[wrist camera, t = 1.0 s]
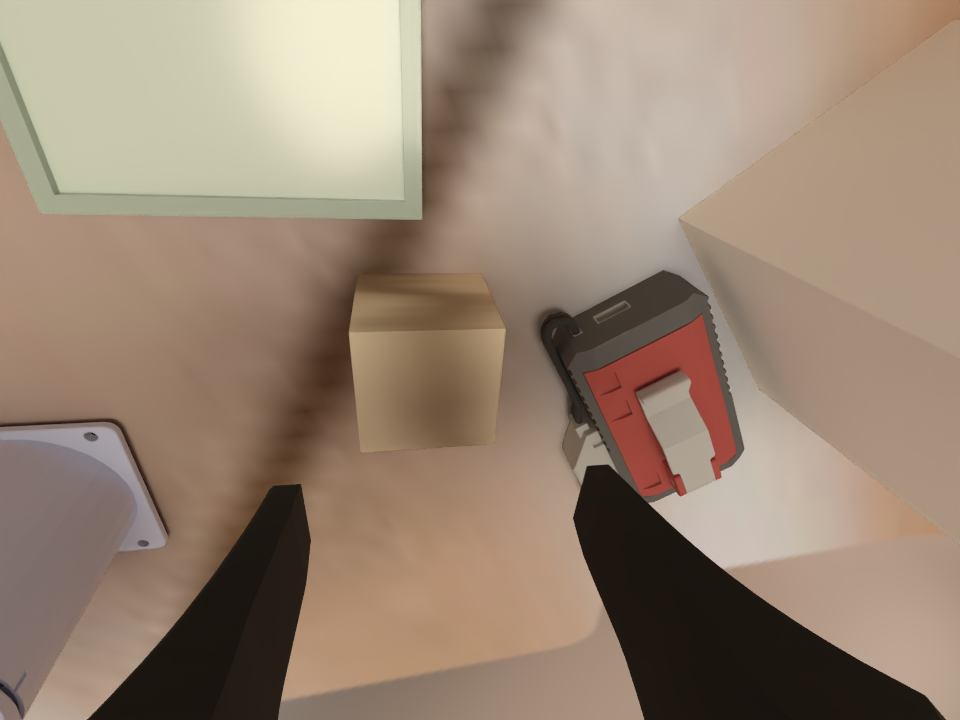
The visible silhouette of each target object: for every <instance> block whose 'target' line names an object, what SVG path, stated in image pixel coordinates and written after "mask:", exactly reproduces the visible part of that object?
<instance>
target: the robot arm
mask: <svg viewBox="0 0 960 720" xmlns="http://www.w3.org/2000/svg"><path fill="white" fill-rule="evenodd" d="M90 432H92V433H94V434H96V435H93V434H91V433H90ZM573 520H574V523H575V527H576V531H577V535H578V538H579V542H580V545H581V549H582V552H583V555H584V558H585V560H586V563H587V565H588V568H589V570H590V573H591V575H592V578H593V580H594V583H595V585H596V587H597V590H598V592H599V595H600V597H601V599H602V602H603V604H604V606H605V609H606V611H607V614H608V616H609V618H610V621H611V623H612V625H613V628H614V630H615V633H616V635H617V637H618V640H619V642H620V645H621V648H622V651H623V653H624V656H625V659H626V661H627V664H628V668H629V671H630V674H631V677H632V681H633V684H634V687H635V690H636V693H637V696H638V700H639V702H640V706H641V710H642V713H643V716H644V720H946V719H945V718H944V717H943V716H942V715H941V713H940V712H939V711H938V710H937V709H936V708H935V706H934V705H933V704H932V703H931V702H930V701H929V699H928V698H927V697H926V696H925V695H923V694H921V693H919V692H918V691H916V690H914V689H912V688H910V687H908V686H906V685H904V684H903V683H901V682H899V681H897V680H895V679H893V678H891V677H889V676H887V675H886V674H884V673H882V672H880V671H878V670H876V669H875V668H873V667H871V666H869V665H867V664H865V663H863V662H861V661H860V660H858V659H856V658H855V657H853V656H851V655H850V654H848V653H846V652H845V651H843V650H841V649H839V648H838V647H836V646H834V645H832V644H831V643H829V642H827V641H826V640H824V639H823V638H821V637H819V636H818V635H816V634H815V633H813V632H811V631H810V630H808V629H807V628H805V627H803V626H802V625H800V624H799V623H797V622H796V621H794V620H793V619H791V618H790V617H788V616H787V615H785V614H784V613H782V612H781V611H779V610H778V609H776V608H775V607H773V606H772V605H770V604H769V603H767V602H766V601H765V600H763V599H762V598H760V597H759V596H758V595H756V594H755V593H753V592H752V591H751V590H749V589H748V588H747V587H745V586H744V585H743V584H741V583H740V582H739V581H737V580H736V579H734V578H733V577H732V576H731V575H729V574H728V573H727V572H725V571H724V570H723V569H722V568H720V567H719V566H718V565H717V564H715V563H714V562H713V561H712V560H711V559H709V558H708V557H707V556H706V555H705V554H703V553H702V552H701V551H700V550H699V549H698V548H696V547H695V546H694V545H693V544H692V543H691V542H689V541H688V540H687V539H686V538H685V537H684V536H683V535H681V534H680V533H679V532H678V531H677V530H676V529H675V528H674V527H673V526H672V525H670V524H669V523H668V522H667V521H666V520H665V519H664V518H663V517H662V516H661V515H660V514H659V513H658V512H657V511H656V510H655V509H654V508H652V507H651V506H650V505H649V504H648V503H647V502H646V501H645V500H644V499H643V498H642V497H641V496H640V495H639V494H638V493H637V492H636V491H635V490H634V489H633V488H632V487H631V486H630V485H629V484H628V483H627V482H626V481H625V480H624V479H623V478H622V477H621V476H620V475H619V474H618V473H617V472H616V471H615V470H614V469H613V468H612V467H611V466H610V465H609V464H606V465H591V466H587V467H586V471H585V475H584V479H583V482H582V486H581V490H580V494H579V498H578V501H577V505H576V509H575V513H574V517H573ZM167 539H168V535H167V533H166V531H165V528H164V526H163V524H162V522H161V519H160V517H159V515H158V513H157V510H156V508H155V506H154V503H153V501H152V499H151V497H150V494H149V492H148V490H147V488H146V485H145V483H144V481H143V479H142V476H141V474H140V472H139V470H138V467H137V465H136V463H135V461H134V458H133V456H132V454H131V452H130V449H129V447H128V445H127V443H126V440H125V438H124V436H123V434H122V431H121V430H120V428H119V427H118V426H117V425H115V424H113V423H110V422H91V423H71V424H52V425H32V426H12V427H0V720H23V719H24V717H25V715H26V713H27V712H28V710H29V708H30V706H31V705H32V703H33V701H34V699H35V697H36V696H37V694H38V692H39V690H40V689H41V687H42V685H43V683H44V681H45V680H46V678H47V676H48V674H49V673H50V671H51V669H52V667H53V665H54V664H55V662H56V660H57V658H58V656H59V655H60V653H61V651H62V649H63V648H64V646H65V644H66V642H67V640H68V639H69V637H70V635H71V633H72V632H73V630H74V628H75V626H76V624H77V623H78V621H79V619H80V617H81V616H82V614H83V612H84V610H85V608H86V607H87V605H88V603H89V601H90V600H91V598H92V596H93V594H94V592H95V591H96V589H97V587H98V585H99V584H100V582H101V580H102V578H103V576H104V575H105V573H106V571H107V569H108V568H109V566H110V564H111V562H112V560H113V559H114V557H115V555H116V553H117V552H121V551H132V550H143V549H153V548H160V547H162V546H164V545H165V544H166V541H167ZM310 543H311V539H310V533H309V527H308V522H307V516H306V510H305V505H304V499H303V493H302V488H301V484H296V485H280V486H273V487H272V488H271V489H270V490H269V491H268V493H267V495H266V497H265V498H264V500H263V502H262V503H261V505H260V507H259V508H258V510H257V511H256V513H255V515H254V516H253V518H252V519H251V521H250V523H249V524H248V526H247V527H246V529H245V530H244V532H243V533H242V535H241V536H240V538H239V539H238V541H237V542H236V544H235V545H234V546H233V548H232V549H231V551H230V552H229V554H228V555H227V557H226V558H225V559H224V561H223V562H222V564H221V565H220V567H219V568H218V569H217V571H216V572H215V573H214V575H213V576H212V577H211V579H210V580H209V581H208V583H207V584H206V585H205V587H204V588H203V589H202V590H201V592H200V593H199V594H198V596H197V597H196V598H195V600H194V601H193V602H192V603H191V605H190V606H189V607H188V609H187V610H186V611H185V612H184V614H183V615H182V616H181V617H180V618H179V620H178V621H177V622H176V623H175V625H174V626H173V627H172V628H171V629H170V631H169V632H168V633H167V634H166V635H165V636H164V638H163V639H162V640H161V641H160V642H159V643H158V644H157V646H156V647H155V648H154V649H153V650H152V651H151V652H150V654H149V655H148V656H147V657H146V658H145V659H144V660H143V661H142V663H141V664H140V665H139V666H138V667H137V668H136V669H135V670H134V671H133V672H132V673H131V674H130V675H129V677H128V678H127V679H126V680H125V681H124V682H123V683H122V684H121V685H120V686H119V687H118V688H117V689H116V690H115V692H114V693H113V694H112V695H111V696H110V697H109V698H108V699H107V700H106V701H105V702H104V703H103V704H102V705H101V706H100V707H99V708H98V709H97V710H96V711H95V712H94V713H93V714H92V715H91V716H90V717H89V718H88V719H87V720H278V714H279V707H280V702H281V697H282V691H283V686H284V681H285V677H286V672H287V668H288V663H289V659H290V654H291V650H292V645H293V641H294V636H295V632H296V627H297V623H298V618H299V614H300V609H301V605H302V600H303V596H304V591H305V586H306V580H307V571H308V563H309V553H310Z"/></svg>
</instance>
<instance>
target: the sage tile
mask: <svg viewBox="0 0 960 720" xmlns="http://www.w3.org/2000/svg"><path fill="white" fill-rule="evenodd" d="M0 121H1V123H2V125H3V128H4V130H5V132H6V135H7V137H8V139H9V142H10V144H11V146H12V149H13V151H14V153H15V156H16V158H17V160H18V163H19V165H20V167H21V170H22V172H23V174H24V177H25V179H26V181H27V184H28V186H29V188H30V191H31V193H32V196H33V198H34V200H35V203H36V205H37V207H38V210H39V212H40V214H82V215H148V216H213V217H278V218H343V219H409V220H422V111H421V0H0Z"/></svg>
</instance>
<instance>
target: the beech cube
mask: <svg viewBox="0 0 960 720" xmlns="http://www.w3.org/2000/svg"><path fill="white" fill-rule="evenodd" d="M505 332H506V328H505V326H504V323H503V321H502V319H501V317H500V314H499V312H498V310H497V308H496V305H495V303H494V301H493V299H492V296H491V294H490V292H489V290H488V287H487V285H486V283H485V281H484V278H483V276H482V274H358V276H357V283H356V289H355V295H354V302H353V308H352V315H351V321H350V328H349V340H350V350H351V360H352V370H353V380H354V391H355V401H356V411H357V421H358V431H359V441H360V452H361V453H366V452H381V451H396V450H411V449H427V448H442V447H457V446H472V445H487V444H494V443H495V433H496V423H497V413H498V403H499V393H500V382H501V372H502V362H503V352H504V342H505Z"/></svg>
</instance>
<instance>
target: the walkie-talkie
mask: <svg viewBox="0 0 960 720" xmlns="http://www.w3.org/2000/svg"><path fill="white" fill-rule="evenodd" d="M708 298H709V297H708V296H707V295H705V294H704V293H703V292H701V291H700V290H698V289H697V288H696V287H694V286H693V285H691V284H690V283H689V282H687V281H686V280H684V279H683V278H682V277H680V276H678V275H675V274H672V273H669V272H666V271H661V272H659V273H657V274H655V275H653V276H652V277H650V278H648V279H646V280H644V281H642V282H640V283H638V284H636V285H634V286H632V287H630V288H629V289H627V290H625V291H623V292H621V293H619V294H617V295H615V296H613V297H611V298H609V299H607V300H606V301H604V302H602V303H600V304H598V305H596V306H594V307H592V308H590V309H588V310H586V311H584V312H583V313H581V314H579V315H577V316H575V317H573V318H572V317H571V316H569V315H568V314H566V313H561V312H560V313H557V314H553V315H549V316H548V317H547V318H546V319H545V320H544V321H543V323H542V326H541V338H542V342H543V343H544V345H545V347H546V349H547V351H548V353H549V355H550V357H551V359H552V361H553V363H554V365H555V367H556V369H557V371H558V373H559V375H560V377H561V379H562V380H563V382H564V384H565V386H566V389H567V391H568V393H569V395H570V397H571V399H572V408H571V412H572V413H571V414H569V415H568V416H569V418H570V423H569V426H568V429H567V432H566V435H565V438H564V441H563V450H564V452H565V455H566V457H567V459H568V461H569V463H570V466H571V468H572V470H573V472H574V473H575V475H576V477H577V479H578V480H579V484H580V486H582V482H583V479H584V475H585V471H586V467H587V466H591V465H606V464H609V465H610V466H611V467H612V468H613V469H614V470H615V471H616V472H617V473H618V474H619V475H620V476H621V477H622V478H623V479H624V480H625V481H626V482H627V483H628V484H629V485H630V486H631V487H632V488H633V489H634V490H635V491H636V492H637V493H638V494H639V495H640V496H641V497H642V498H643V499H644V500H645V501H646V502H647V503H648V502H655V501H657V500H659V499H661V498H664V497H666V496H668V495H670V494H672V493H674V492H677V493H678V495H679V496H683V495H685V494H687V493H689V492H691V491H693V490H696V489H698V488H700V487H702V486H704V485H706V484H709V483H711V482H713V481H715V480H717V479H720V478H721V472H720V471H722V470H724V469H726V468H728V467H731V466H732V465H733V464H734V463H735V462H736V461H737V460H738V458H739V457H740V456H741V454H742V453H743V451H744V445H743V441H742V437H741V432H740V428H739V424H738V420H737V415H736V411H735V407H734V403H733V398H732V394H731V393H730V392H729V389H730V386H729V385H728V384H727V381H728V378H727V377H726V376H725V373H726V370H725V369H724V368H723V365H724V361H723V360H722V359H721V356H722V352H720V351H719V347H720V344H719V343H718V342H717V338H718V335H717V334H716V333H715V328H716V327H715V325H714V324H713V322H712V320H713V315H712V314H710V309H711V306H710V305H709V304H708V301H707V300H708ZM556 327H557V330H556V332H555V335H554V337H553V340H552V336H551V335H552V331H553V330H554V329H555V328H556ZM581 402H582V403H581ZM582 404H583V406H584V407H582Z"/></svg>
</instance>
